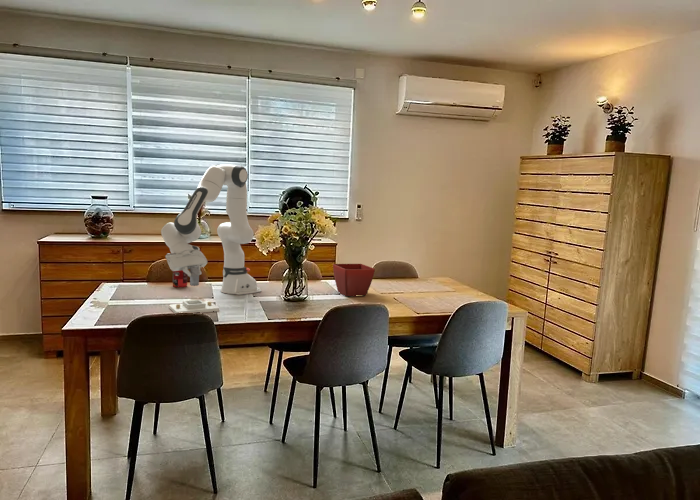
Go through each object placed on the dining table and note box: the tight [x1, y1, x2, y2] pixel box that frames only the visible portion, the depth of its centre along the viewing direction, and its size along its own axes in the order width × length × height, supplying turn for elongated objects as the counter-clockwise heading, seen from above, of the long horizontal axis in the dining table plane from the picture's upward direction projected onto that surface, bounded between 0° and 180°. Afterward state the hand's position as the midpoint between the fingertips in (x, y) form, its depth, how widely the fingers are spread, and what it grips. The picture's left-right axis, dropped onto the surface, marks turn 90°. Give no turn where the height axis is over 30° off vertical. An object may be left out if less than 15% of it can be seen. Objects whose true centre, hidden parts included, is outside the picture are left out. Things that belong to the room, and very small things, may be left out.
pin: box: [189, 266, 200, 287], centre depth 235 cm, size 4×4×9 cm
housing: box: [168, 299, 220, 314], centre depth 237 cm, size 20×14×4 cm
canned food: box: [172, 270, 188, 289], centre depth 283 cm, size 8×8×11 cm
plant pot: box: [332, 263, 376, 297], centre depth 289 cm, size 19×19×17 cm
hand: (195, 274), depth 235 cm, fingers closed on pin, 4 cm apart
